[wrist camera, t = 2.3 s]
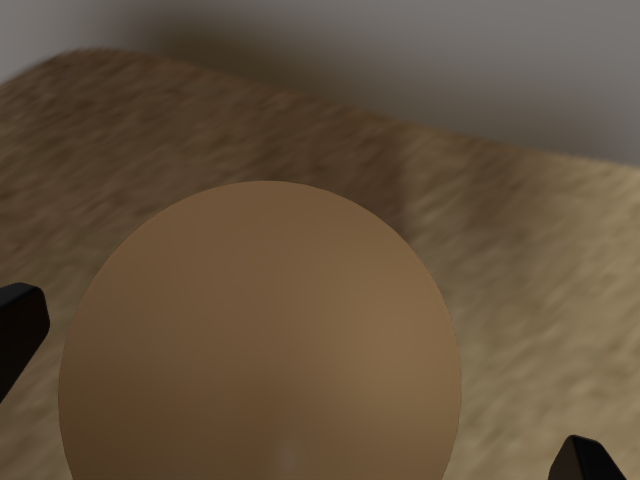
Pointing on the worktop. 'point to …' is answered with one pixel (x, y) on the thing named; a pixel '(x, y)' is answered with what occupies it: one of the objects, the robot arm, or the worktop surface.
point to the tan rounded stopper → (261, 347)
